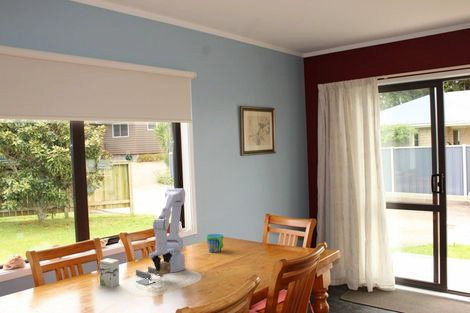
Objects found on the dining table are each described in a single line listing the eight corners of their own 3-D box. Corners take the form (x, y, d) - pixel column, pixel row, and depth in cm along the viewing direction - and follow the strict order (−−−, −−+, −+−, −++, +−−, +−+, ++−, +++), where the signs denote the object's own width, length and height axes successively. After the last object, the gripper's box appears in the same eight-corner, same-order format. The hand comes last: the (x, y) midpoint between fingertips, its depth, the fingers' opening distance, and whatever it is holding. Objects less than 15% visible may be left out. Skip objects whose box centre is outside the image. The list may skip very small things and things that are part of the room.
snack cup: (228, 253, 260) (227, 236, 260) (212, 255, 255) (212, 238, 255) (217, 247, 274) (217, 232, 273) (202, 250, 269) (202, 234, 268)
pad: (146, 279, 211) (146, 278, 211) (155, 282, 206) (155, 281, 206) (136, 281, 207) (136, 281, 207) (145, 285, 201) (145, 284, 201)
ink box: (99, 284, 204) (98, 260, 204) (107, 281, 208) (106, 257, 208) (112, 287, 200) (111, 262, 200) (119, 284, 204) (119, 259, 204)
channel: (149, 271, 224) (149, 266, 224) (163, 275, 216) (162, 270, 216) (136, 274, 218) (135, 270, 218) (149, 279, 210) (149, 274, 210)
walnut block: (163, 270, 212) (163, 261, 212) (170, 273, 208) (170, 263, 208) (156, 272, 209) (156, 262, 209) (163, 275, 205) (163, 265, 205)
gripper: (167, 238, 217) (168, 264, 218) (144, 244, 206) (145, 271, 207) (176, 240, 212) (177, 267, 213) (153, 246, 202) (154, 274, 202)
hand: (162, 269), depth 209 cm, fingers closed on walnut block, 5 cm apart
